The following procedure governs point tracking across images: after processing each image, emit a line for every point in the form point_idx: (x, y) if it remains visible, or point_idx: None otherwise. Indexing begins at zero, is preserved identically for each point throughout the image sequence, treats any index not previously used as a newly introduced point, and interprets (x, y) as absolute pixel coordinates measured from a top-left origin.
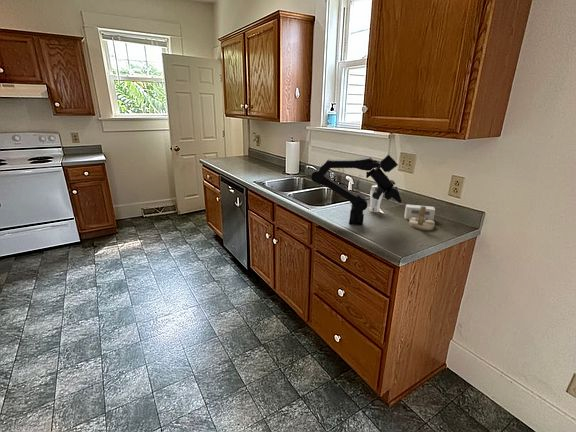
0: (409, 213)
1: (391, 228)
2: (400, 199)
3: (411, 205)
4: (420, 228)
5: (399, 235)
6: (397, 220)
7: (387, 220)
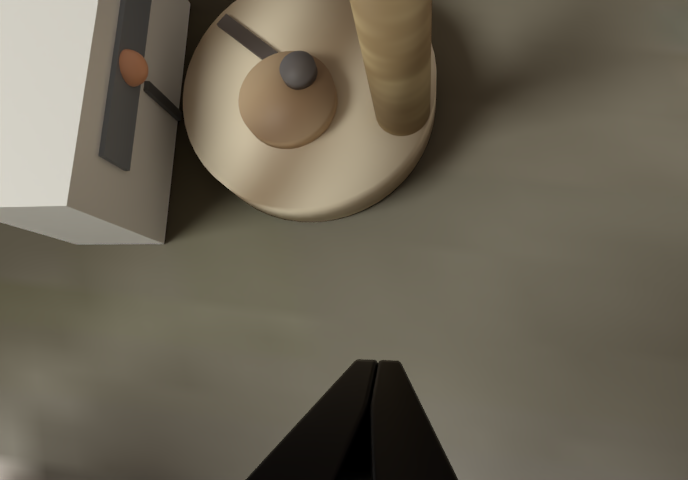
0: (125, 191)
1: (480, 432)
2: (426, 420)
3: None
4: (432, 122)
5: (681, 364)
6: (207, 329)
7: (229, 446)
